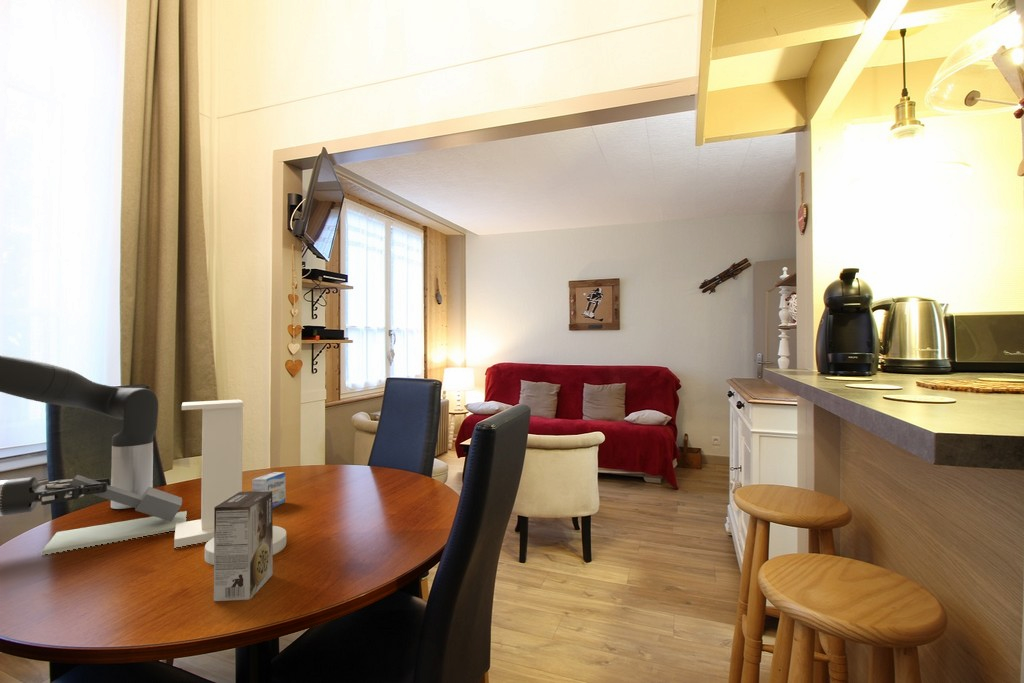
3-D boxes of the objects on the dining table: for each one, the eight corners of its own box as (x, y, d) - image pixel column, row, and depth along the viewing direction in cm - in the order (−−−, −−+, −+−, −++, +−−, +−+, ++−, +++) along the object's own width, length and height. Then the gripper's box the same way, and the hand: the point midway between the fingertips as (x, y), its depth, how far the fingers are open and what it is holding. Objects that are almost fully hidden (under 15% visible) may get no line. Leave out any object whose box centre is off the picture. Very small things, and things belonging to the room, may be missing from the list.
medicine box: (266, 511, 125) (266, 479, 125) (251, 510, 126) (252, 478, 126) (285, 502, 133) (286, 472, 133) (272, 501, 133) (272, 471, 134)
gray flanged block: (73, 481, 109) (85, 465, 110) (172, 512, 119) (182, 497, 120) (65, 488, 102) (78, 471, 103) (171, 521, 113) (181, 505, 114)
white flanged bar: (175, 531, 111) (177, 402, 112) (243, 519, 119) (244, 398, 120) (174, 548, 101) (175, 406, 102) (247, 534, 109) (248, 402, 110)
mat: (56, 536, 109) (56, 532, 109) (186, 514, 123) (186, 510, 123) (42, 555, 98) (42, 550, 98) (186, 529, 112) (186, 525, 112)
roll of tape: (300, 546, 102) (300, 533, 102) (225, 574, 89) (226, 559, 89) (263, 532, 111) (263, 520, 111) (191, 555, 98) (191, 542, 98)
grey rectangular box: (238, 576, 88) (239, 491, 88) (273, 575, 88) (274, 489, 89) (211, 602, 78) (212, 506, 79) (250, 600, 79) (251, 505, 79)
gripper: (-8, 487, 94) (104, 474, 104) (14, 473, 105) (113, 463, 115) (-9, 525, 94) (103, 508, 103) (13, 506, 105) (112, 493, 115)
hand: (108, 484), depth 109 cm, fingers closed on gray flanged block, 4 cm apart
